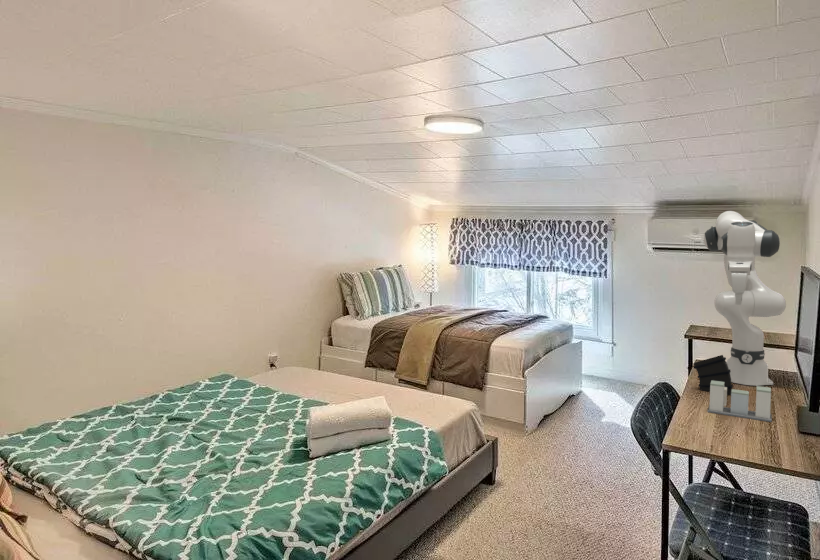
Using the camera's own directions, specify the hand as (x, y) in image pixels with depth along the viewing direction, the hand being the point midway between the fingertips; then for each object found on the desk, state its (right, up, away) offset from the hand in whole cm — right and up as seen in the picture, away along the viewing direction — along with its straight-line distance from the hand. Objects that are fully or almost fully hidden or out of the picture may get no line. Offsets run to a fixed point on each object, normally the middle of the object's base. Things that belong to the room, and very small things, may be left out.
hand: (738, 303), depth 189 cm
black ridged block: (-1, -36, +16) cm, 39 cm away
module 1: (-13, -38, -8) cm, 41 cm away
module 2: (-7, -38, -11) cm, 40 cm away
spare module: (-7, -37, +1) cm, 38 cm away
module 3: (-2, -38, -15) cm, 41 cm away
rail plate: (-7, -38, -11) cm, 40 cm away
